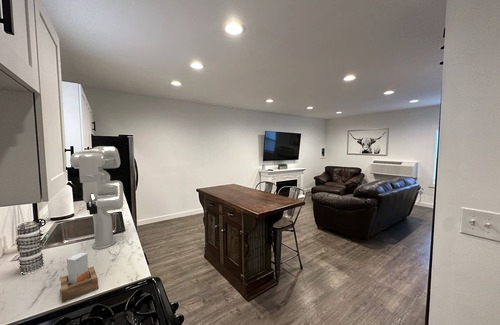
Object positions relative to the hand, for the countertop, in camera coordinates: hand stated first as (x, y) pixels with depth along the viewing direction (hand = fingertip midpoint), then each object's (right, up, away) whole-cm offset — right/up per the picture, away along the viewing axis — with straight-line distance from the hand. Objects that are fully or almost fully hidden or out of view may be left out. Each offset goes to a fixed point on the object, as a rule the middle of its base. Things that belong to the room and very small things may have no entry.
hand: (92, 211), depth 106 cm
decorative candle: (-32, -31, +2) cm, 45 cm away
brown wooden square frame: (+4, -32, -13) cm, 34 cm away
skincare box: (+4, -29, -13) cm, 32 cm away
